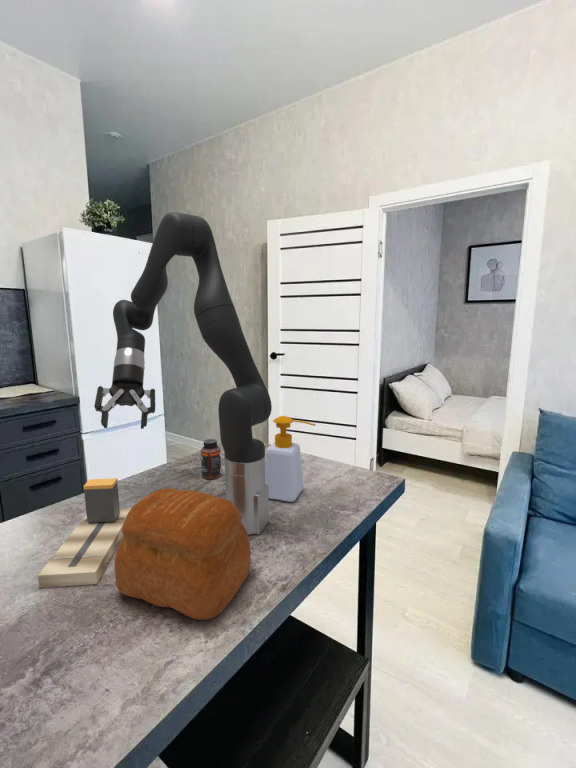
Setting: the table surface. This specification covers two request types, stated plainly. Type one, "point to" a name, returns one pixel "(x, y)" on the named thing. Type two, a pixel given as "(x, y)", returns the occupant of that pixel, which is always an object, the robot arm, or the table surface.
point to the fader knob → (102, 500)
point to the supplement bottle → (211, 459)
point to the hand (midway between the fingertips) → (124, 427)
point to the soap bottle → (284, 464)
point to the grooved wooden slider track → (84, 553)
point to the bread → (183, 552)
